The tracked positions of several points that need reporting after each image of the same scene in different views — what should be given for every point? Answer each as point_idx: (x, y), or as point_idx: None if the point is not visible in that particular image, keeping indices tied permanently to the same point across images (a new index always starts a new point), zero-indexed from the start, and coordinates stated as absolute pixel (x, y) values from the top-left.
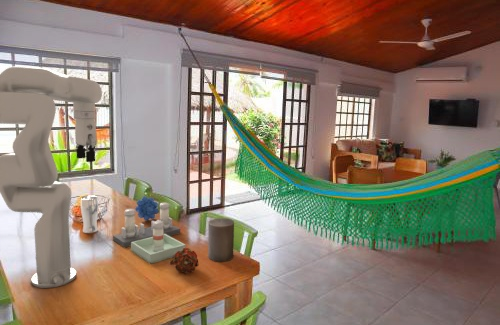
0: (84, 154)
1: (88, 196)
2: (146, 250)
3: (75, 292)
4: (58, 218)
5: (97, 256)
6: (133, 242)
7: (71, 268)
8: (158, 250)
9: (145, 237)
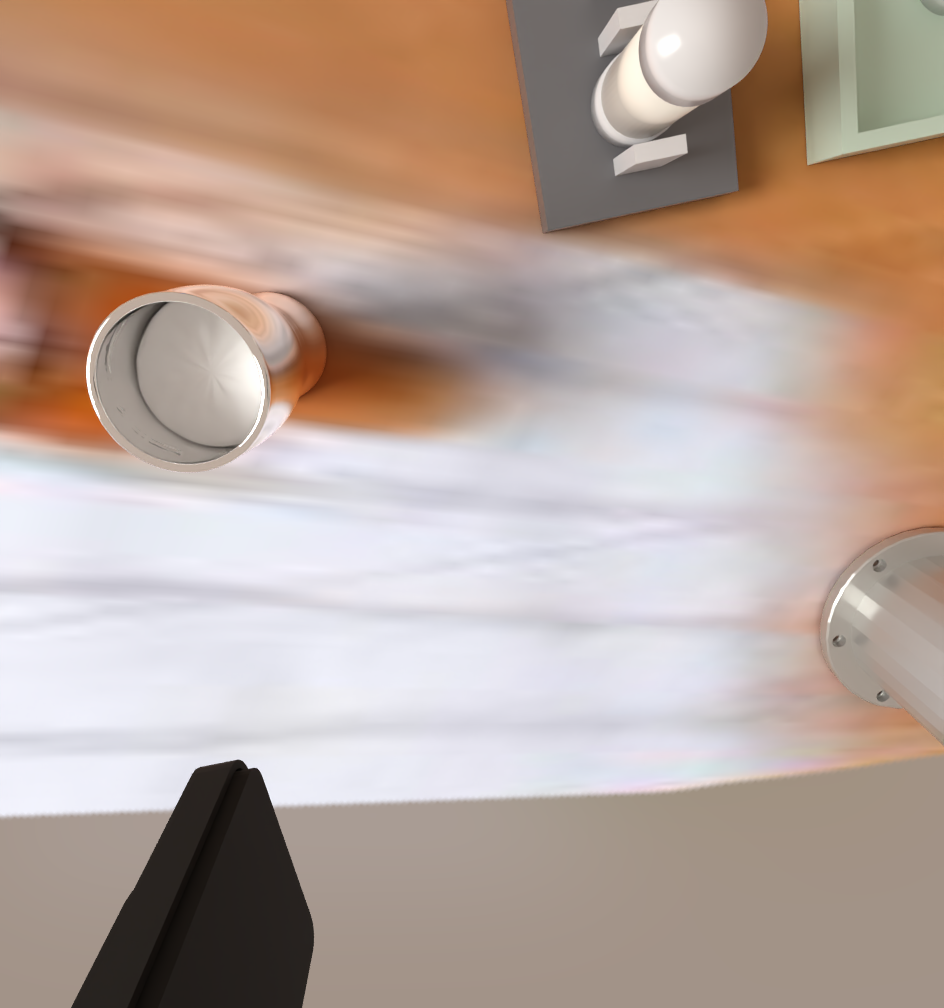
0: (234, 859)
1: (96, 381)
2: None
3: None
4: None
5: (769, 388)
6: (859, 137)
7: (899, 548)
8: None
9: None
